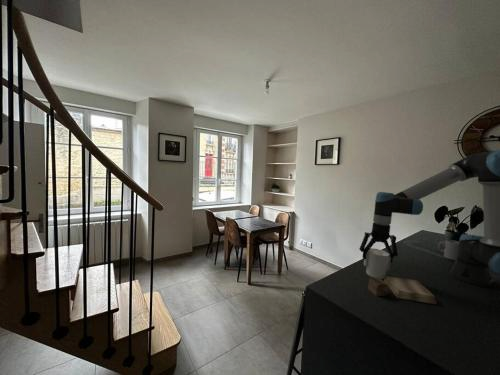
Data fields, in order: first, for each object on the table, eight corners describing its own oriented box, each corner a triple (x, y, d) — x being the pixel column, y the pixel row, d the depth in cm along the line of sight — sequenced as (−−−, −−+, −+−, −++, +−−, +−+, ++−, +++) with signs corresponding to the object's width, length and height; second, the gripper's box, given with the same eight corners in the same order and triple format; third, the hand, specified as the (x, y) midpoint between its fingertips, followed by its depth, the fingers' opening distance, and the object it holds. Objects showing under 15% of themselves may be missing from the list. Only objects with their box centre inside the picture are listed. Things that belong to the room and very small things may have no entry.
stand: (417, 286, 102) (418, 280, 102) (435, 304, 88) (437, 297, 88) (384, 281, 105) (384, 275, 104) (397, 297, 91) (398, 290, 91)
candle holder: (390, 281, 105) (393, 257, 104) (368, 278, 107) (370, 254, 106) (382, 272, 114) (385, 249, 113) (362, 269, 116) (364, 247, 115)
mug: (461, 258, 143) (463, 242, 142) (461, 262, 137) (464, 245, 136) (437, 252, 151) (439, 237, 150) (436, 255, 145) (438, 239, 144)
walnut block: (378, 289, 97) (379, 278, 97) (386, 295, 92) (388, 284, 92) (367, 289, 96) (369, 278, 96) (375, 295, 91) (377, 284, 91)
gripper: (403, 224, 110) (397, 267, 112) (355, 219, 114) (350, 260, 116) (410, 228, 103) (404, 274, 105) (359, 222, 107) (354, 266, 109)
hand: (376, 266), depth 110 cm, fingers closed on candle holder, 9 cm apart
